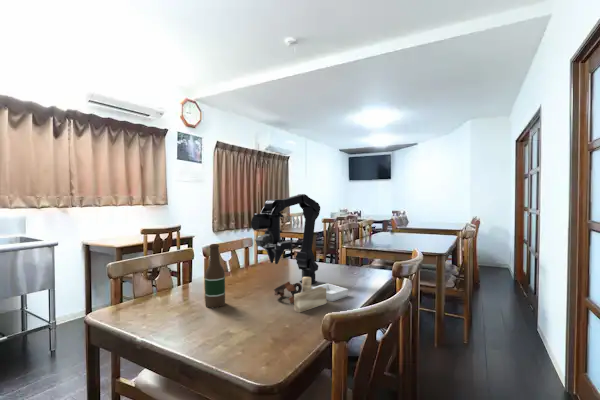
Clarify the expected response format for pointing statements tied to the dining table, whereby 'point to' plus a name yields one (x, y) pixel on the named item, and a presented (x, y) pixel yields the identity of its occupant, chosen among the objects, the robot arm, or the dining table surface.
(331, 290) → the tray
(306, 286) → the peg
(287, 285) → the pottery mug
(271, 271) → the dining table surface
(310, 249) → the robot arm
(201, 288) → the dining table surface
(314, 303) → the block
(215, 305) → the beer bottle
